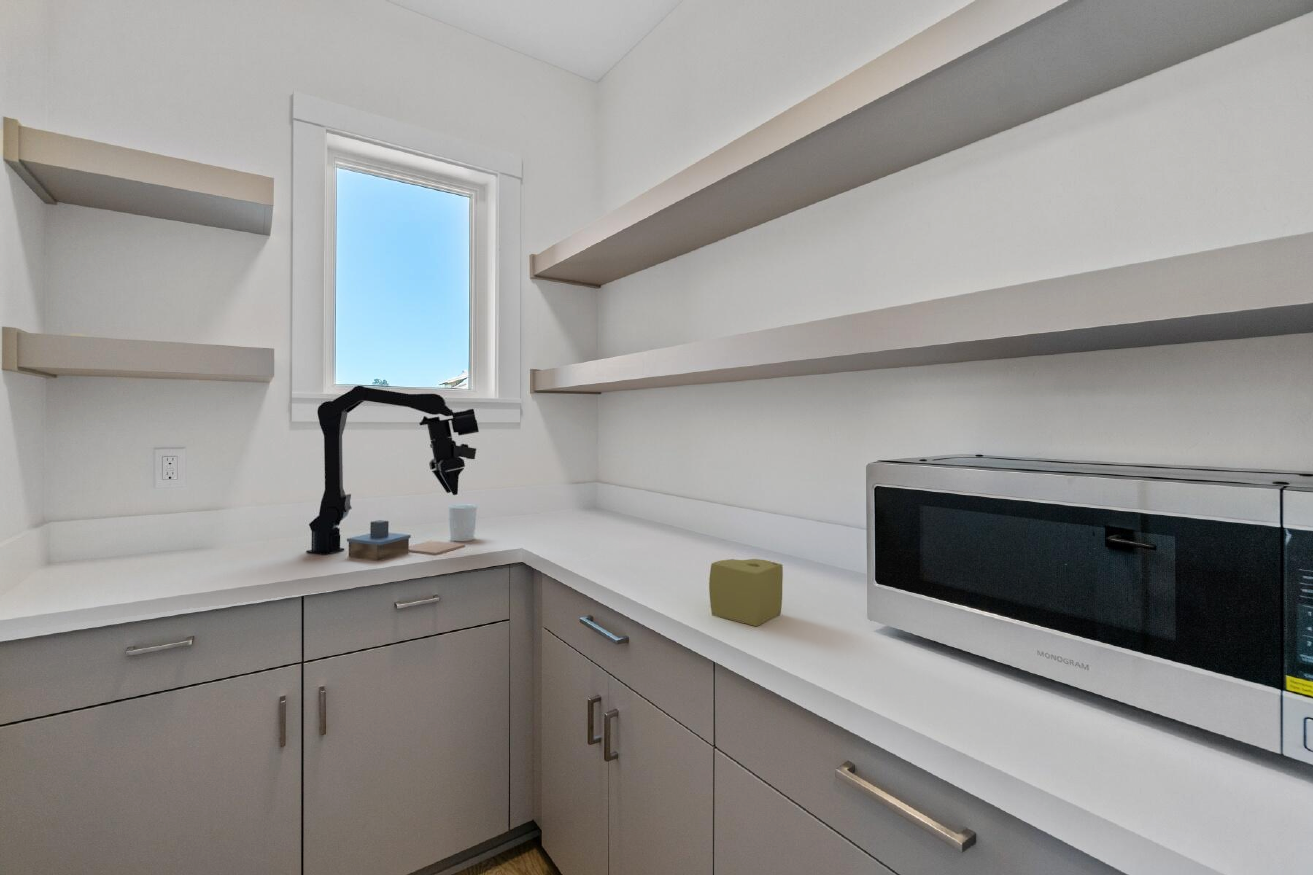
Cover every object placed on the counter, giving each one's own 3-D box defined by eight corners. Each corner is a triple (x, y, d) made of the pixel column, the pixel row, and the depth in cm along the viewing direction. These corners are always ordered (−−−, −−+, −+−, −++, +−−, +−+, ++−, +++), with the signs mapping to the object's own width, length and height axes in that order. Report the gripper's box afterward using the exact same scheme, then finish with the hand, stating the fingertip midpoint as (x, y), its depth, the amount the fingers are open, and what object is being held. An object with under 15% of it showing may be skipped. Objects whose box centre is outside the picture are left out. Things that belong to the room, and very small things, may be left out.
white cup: (470, 542, 170) (471, 508, 170) (444, 541, 170) (444, 507, 170) (479, 537, 178) (480, 504, 178) (454, 536, 178) (454, 504, 178)
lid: (346, 544, 148) (347, 522, 148) (379, 537, 158) (379, 516, 158) (379, 548, 145) (379, 526, 145) (410, 540, 155) (410, 519, 155)
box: (348, 557, 149) (348, 541, 148) (378, 549, 158) (379, 534, 158) (379, 560, 145) (379, 545, 145) (408, 552, 155) (408, 537, 155)
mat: (399, 550, 157) (399, 548, 157) (430, 542, 168) (430, 540, 168) (435, 555, 153) (435, 552, 153) (464, 546, 164) (464, 544, 164)
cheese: (736, 603, 118) (737, 554, 118) (785, 615, 111) (786, 563, 111) (707, 615, 110) (708, 562, 110) (757, 629, 103) (759, 573, 103)
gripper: (478, 432, 157) (489, 489, 158) (463, 434, 173) (473, 485, 175) (435, 440, 152) (447, 498, 153) (424, 441, 168) (434, 494, 169)
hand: (452, 493), depth 163 cm, fingers open, 9 cm apart
